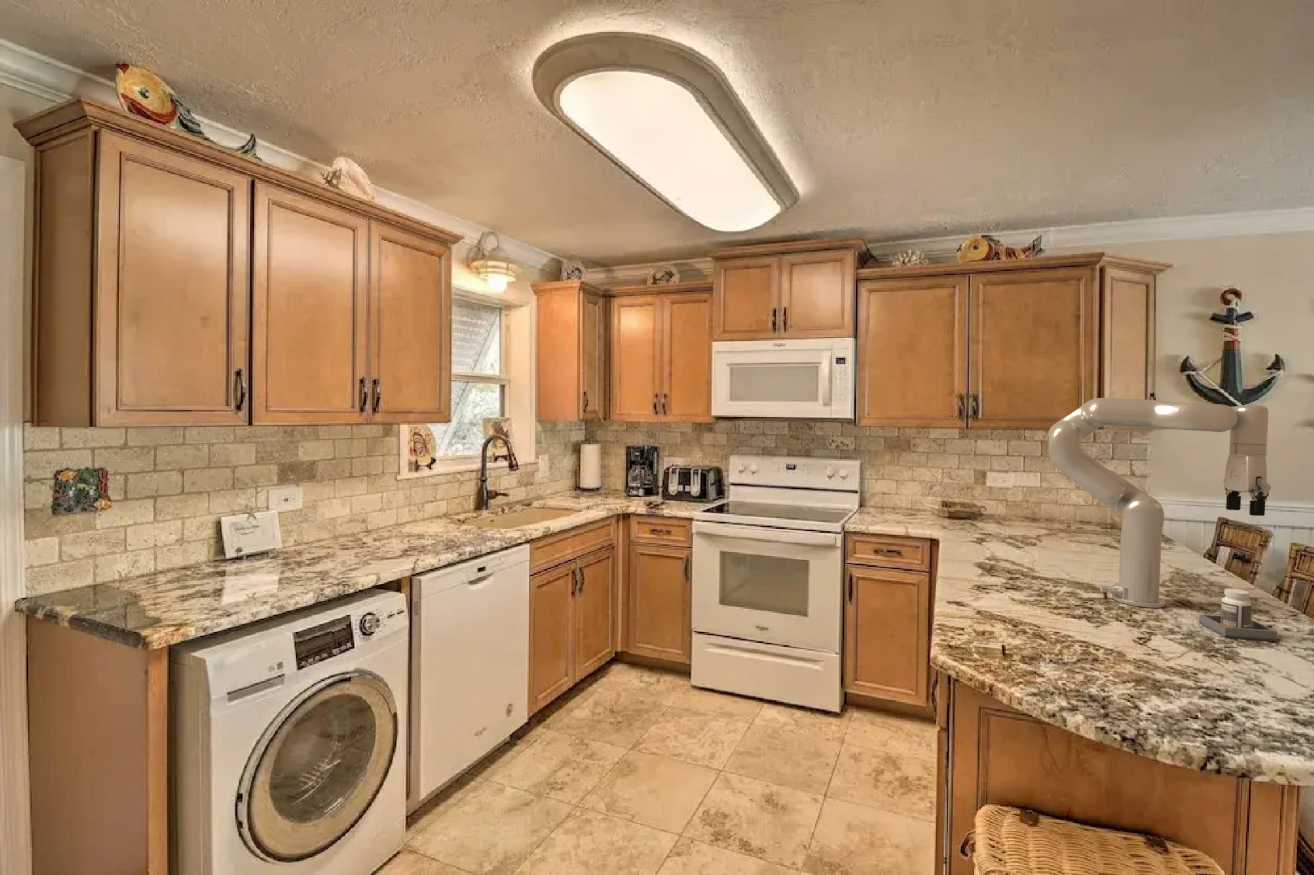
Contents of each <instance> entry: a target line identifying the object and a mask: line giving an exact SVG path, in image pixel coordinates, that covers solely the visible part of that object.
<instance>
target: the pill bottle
mask: <svg viewBox="0 0 1314 875" xmlns="http://www.w3.org/2000/svg"><path fill="white" fill-rule="evenodd" d="M1224 595H1225V596H1224V597H1222V599H1221V601H1220V602H1221V604H1220V605H1221V606H1220V616H1221V624H1222V625H1223V626H1225V627H1231V628H1245V629H1251V619H1252V608H1253V607H1252V606H1253V605H1252V602H1251V601H1250V600H1249V598H1250V592H1249V591H1246V590H1243V589H1238V588H1225V589H1224Z"/></svg>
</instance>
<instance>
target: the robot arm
mask: <svg viewBox="0 0 1314 875" xmlns="http://www.w3.org/2000/svg"><path fill="white" fill-rule="evenodd" d="M1101 427H1109V428H1125V429H1126V428H1127V429H1141V430H1153V431H1154V430H1157V431H1158V430H1159V431H1161V430H1176V431H1177V430H1178V431H1180V430H1181V431H1195V432H1197V431H1198V432H1212V433H1224V432H1227V431H1229V450H1228V451H1229V452H1228V458H1227V461H1226V465H1225V470H1224V471H1225V472H1224V479H1223V487H1224V490H1225V496H1226V498H1225V499H1226V500H1225V502H1226V504H1225V510H1226V511H1227V510H1228V511H1241V508H1242V507H1241V506H1242V505H1241V503H1242V495H1241V493H1248V494H1249V495H1250V498H1251V500H1249V512H1248V514H1249V516H1253V517H1255V516H1256V517H1257V516H1258V517H1259V516H1261V517H1264V516H1265V515H1266V502H1267V501H1268V497H1269V495H1270V491H1271V488H1272V487H1271V485H1270V483H1268V473H1267V471H1268V470H1267V469H1268V468H1267V458H1266V457H1267V452H1268V451H1267V450H1268V448H1267V447H1268V431H1269V430H1268V427H1269V409H1268V408H1267V406H1264V405H1236V406H1228V405H1226V404H1218V403H1217V404H1215V403H1198V402H1197V403H1195V402H1176V401H1175V402H1174V401H1167V400H1166V401H1165V400H1161V399H1159V400H1157V399H1139V398H1138V399H1136V398H1135V399H1134V398H1118V397H1117V398H1116V397H1115V398H1114V397H1113V398H1112V397H1111V398H1110V397H1098V398H1097V397H1096V398H1092V399H1090V400H1088V401H1087V402H1085V403H1084V404H1081V406H1080V407H1078V408H1076V409H1075V410H1074V411H1072V412H1070V413H1069V414H1068V415H1066V416H1064V417H1063V418H1062V419H1059V421H1057V422H1055V423H1054V424H1052V426H1051V427H1050V428H1049V430H1048V434H1047V435H1048V436H1047V437H1048V455H1049V457H1050V459H1051V461H1052V463H1053V465H1054V466H1055V468H1057V469H1058V470H1059V471H1060V472H1061V473H1062V474H1063V475H1064V476H1066V477H1067V478H1068V479H1070V480H1071V481H1072V482H1074V483H1075V484H1076V485H1077V486H1079V487H1081V488H1082V489H1083V490H1085V491H1086V492H1087V493H1088V494H1089V495H1090V496H1091V497H1092V498H1094V499H1095V500H1098V501H1099V502H1101V504H1103V505H1104V506H1106V507H1108V508H1109V509H1110V510H1111V511H1113V512H1114V513H1116V514H1117V515H1118V516H1120V517H1121V530H1120V542H1119V547H1120V548H1119V566H1118V567H1119V571H1118V574H1119V575H1118V582H1114V584H1112V585H1111V586H1109V585H1101V584H1100V586H1099V591H1100V593H1108V594H1110V595H1111V598H1112V599H1113V600H1114V601H1116V602H1118V603H1122V604H1126V605H1130V606H1134V607H1140V606H1141V607H1140V608H1148V609H1149V608H1151V609H1152V608H1153V609H1154V608H1155V609H1157V608H1159V609H1161V608H1164V607H1165V606H1166V600H1165V599H1163V598H1161V597H1160V585H1161V584H1160V583H1161V582H1160V581H1161V579H1160V577H1161V559H1162V556H1161V555H1162V551H1161V550H1162V537H1163V536H1162V535H1163V529H1164V522H1165V512H1164V507H1163V506H1162V504H1161V502H1159V501H1158V500H1157V499H1156V498H1155V497H1153V496H1151V495H1149V494H1147V493H1146V492H1145V491H1143V490H1141V489H1140V488H1139V487H1137V486H1136V485H1134V484H1133V483H1131V482H1129V480H1126V479H1125V478H1124V477H1122V476H1121V475H1120V474H1118V472H1116V471H1113V470H1111V469H1109V468H1107V467H1106V466H1104V465H1103V464H1101V463H1100V462H1098V461H1097V460H1096V459H1094V458H1093V457H1092V456H1090V455H1088V454H1087V453H1086V452H1085V451H1084V450H1083V448H1082V446H1081V444H1082V443H1081V442H1082V440H1083V439H1085V438H1086V437H1088V436H1090V435H1091V434H1092V433H1093V434H1094V433H1095V431H1097V430H1099V429H1101Z"/></svg>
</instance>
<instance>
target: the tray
mask: <svg viewBox="0 0 1314 875" xmlns="http://www.w3.org/2000/svg"><path fill="white" fill-rule="evenodd" d="M1198 619H1199V620H1198V624H1199V623H1200V624H1199V625H1201V624H1202V625H1201V626H1203V627H1204V626H1205V628H1206V629H1208V628H1209V629H1208V630H1210V629H1211V630H1210V631H1212V632H1214V633H1215V632H1216V634H1218V635H1219V636H1221V637H1223V638H1225V639H1236V640H1237V639H1238V640H1250V641H1251V640H1252V641H1264V642H1278V631H1277V630H1275V629H1273V628H1271V627H1269V626H1268V625H1267V626H1266V625H1264V624H1262V623H1260V622H1259V621H1256V620H1254V619H1252V618H1251V629H1245V628H1231V627H1225V626H1223V625H1222V624H1221V615H1216V614H1202V613H1200V614H1199V617H1198Z"/></svg>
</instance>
